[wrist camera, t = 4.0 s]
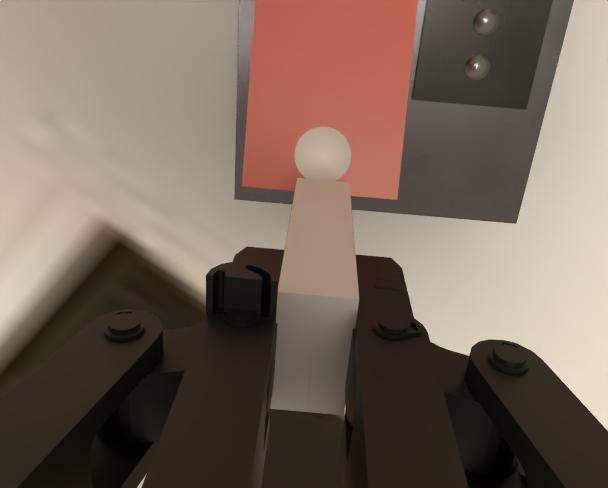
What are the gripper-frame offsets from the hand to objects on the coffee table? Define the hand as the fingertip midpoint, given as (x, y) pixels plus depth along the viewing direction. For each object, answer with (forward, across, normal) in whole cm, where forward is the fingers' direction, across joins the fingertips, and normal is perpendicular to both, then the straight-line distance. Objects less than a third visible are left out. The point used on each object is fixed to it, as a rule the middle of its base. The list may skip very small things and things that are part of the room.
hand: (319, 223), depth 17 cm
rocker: (+4, 0, +5) cm, 6 cm away
